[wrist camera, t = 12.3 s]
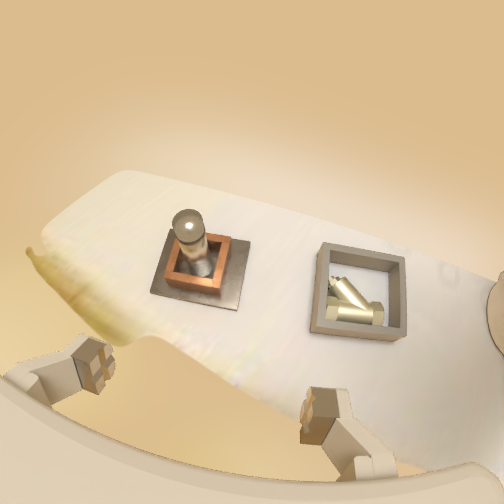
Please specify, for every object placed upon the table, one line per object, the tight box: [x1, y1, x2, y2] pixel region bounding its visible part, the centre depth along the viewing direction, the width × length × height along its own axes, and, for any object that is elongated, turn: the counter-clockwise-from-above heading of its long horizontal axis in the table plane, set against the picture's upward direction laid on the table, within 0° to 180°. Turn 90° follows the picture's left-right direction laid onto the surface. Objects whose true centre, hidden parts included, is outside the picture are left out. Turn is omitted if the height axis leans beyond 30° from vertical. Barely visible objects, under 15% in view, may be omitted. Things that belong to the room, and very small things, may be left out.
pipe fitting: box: [325, 276, 384, 326], centre depth 37 cm, size 8×4×7 cm
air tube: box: [172, 209, 213, 277], centre depth 34 cm, size 3×3×11 cm
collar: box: [150, 229, 250, 311], centre depth 38 cm, size 12×10×4 cm
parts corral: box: [310, 242, 407, 341], centre depth 37 cm, size 12×12×4 cm
